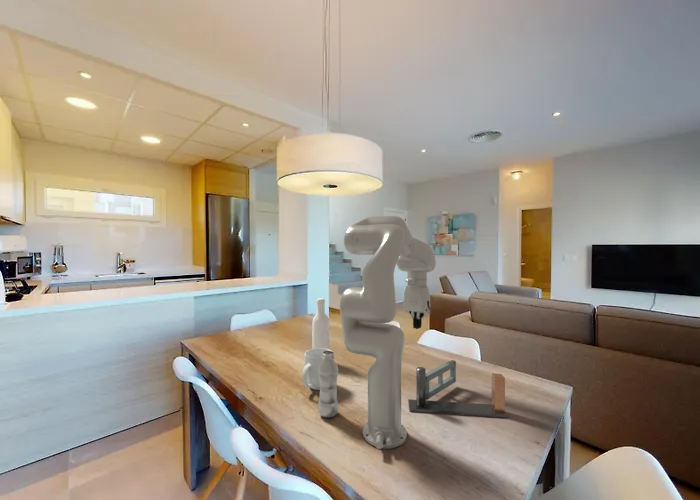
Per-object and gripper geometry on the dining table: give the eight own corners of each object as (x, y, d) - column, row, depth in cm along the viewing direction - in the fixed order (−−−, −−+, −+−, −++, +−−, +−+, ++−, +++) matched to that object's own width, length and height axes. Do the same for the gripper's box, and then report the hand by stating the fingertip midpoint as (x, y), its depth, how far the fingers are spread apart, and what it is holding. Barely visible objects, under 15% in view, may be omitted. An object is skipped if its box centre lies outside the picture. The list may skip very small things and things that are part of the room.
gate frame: (506, 417, 93) (506, 376, 93) (409, 411, 96) (409, 371, 96) (499, 407, 99) (499, 368, 99) (408, 402, 102) (408, 364, 102)
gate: (426, 399, 100) (426, 376, 100) (422, 398, 101) (422, 375, 101) (455, 381, 114) (455, 361, 114) (452, 380, 115) (452, 359, 115)
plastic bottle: (327, 407, 99) (327, 347, 99) (342, 414, 95) (342, 352, 95) (313, 415, 94) (313, 353, 94) (329, 423, 90) (328, 357, 90)
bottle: (311, 360, 141) (311, 297, 141) (327, 359, 143) (327, 297, 143) (313, 367, 133) (313, 300, 133) (330, 365, 135) (330, 299, 135)
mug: (315, 400, 104) (315, 363, 104) (291, 393, 109) (291, 357, 109) (338, 383, 117) (338, 350, 117) (315, 377, 122) (315, 346, 122)
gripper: (396, 282, 123) (396, 326, 123) (428, 285, 112) (428, 333, 112) (407, 280, 128) (407, 323, 128) (438, 283, 117) (438, 329, 117)
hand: (417, 327), depth 120 cm, fingers closed
